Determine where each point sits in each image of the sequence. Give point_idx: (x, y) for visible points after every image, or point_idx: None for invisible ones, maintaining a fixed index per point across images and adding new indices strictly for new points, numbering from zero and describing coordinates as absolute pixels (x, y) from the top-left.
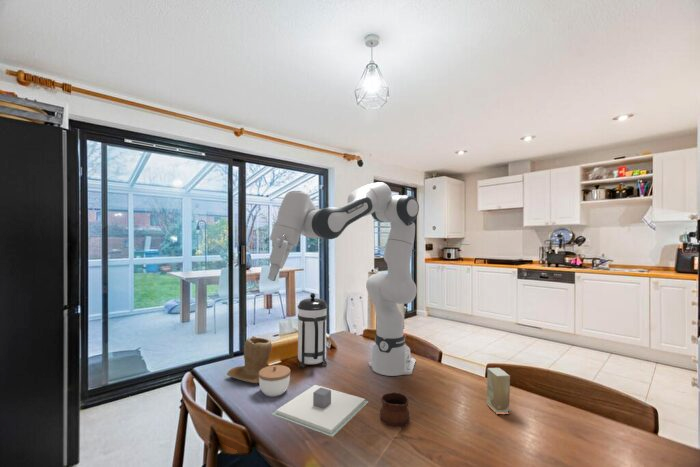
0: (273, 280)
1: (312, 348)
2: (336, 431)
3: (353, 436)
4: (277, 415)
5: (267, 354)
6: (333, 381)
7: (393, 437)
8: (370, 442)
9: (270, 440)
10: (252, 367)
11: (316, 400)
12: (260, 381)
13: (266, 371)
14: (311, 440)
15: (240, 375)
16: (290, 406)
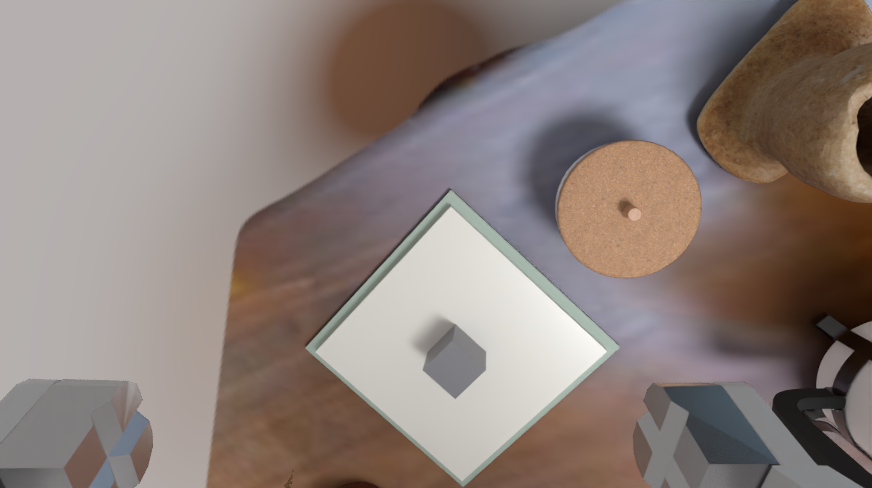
0: (638, 436)
1: (864, 406)
2: (326, 362)
3: (308, 397)
4: (437, 209)
5: (800, 178)
6: None
7: (290, 483)
8: (279, 428)
9: (324, 188)
10: (770, 102)
11: (445, 339)
12: (593, 149)
13: (628, 175)
14: (308, 294)
15: (769, 48)
16: (464, 253)
